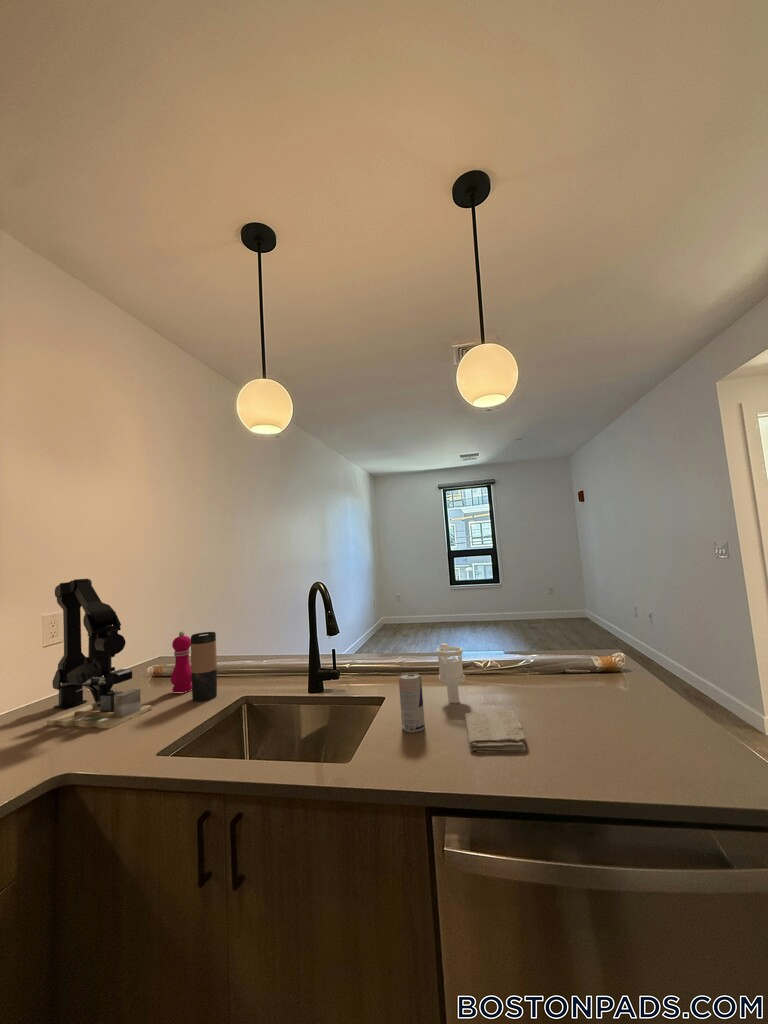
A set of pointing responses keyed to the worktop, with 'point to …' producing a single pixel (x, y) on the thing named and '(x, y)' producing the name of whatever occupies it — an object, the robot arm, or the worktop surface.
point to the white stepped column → (450, 670)
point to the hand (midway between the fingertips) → (99, 706)
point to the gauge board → (92, 717)
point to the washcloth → (494, 732)
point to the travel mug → (203, 666)
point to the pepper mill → (181, 664)
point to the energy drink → (411, 702)
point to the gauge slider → (107, 701)
